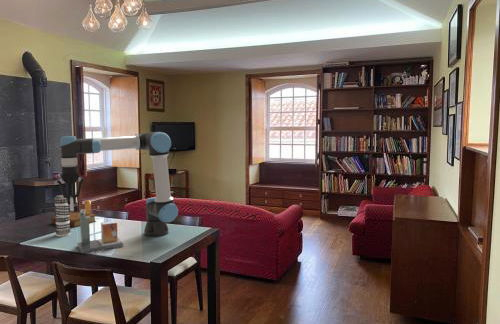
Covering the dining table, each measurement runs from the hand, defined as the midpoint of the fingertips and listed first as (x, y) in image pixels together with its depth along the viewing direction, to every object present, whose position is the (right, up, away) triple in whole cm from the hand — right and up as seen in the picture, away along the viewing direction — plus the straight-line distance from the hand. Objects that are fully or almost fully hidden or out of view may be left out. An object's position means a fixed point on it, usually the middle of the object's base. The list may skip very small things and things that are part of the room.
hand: (71, 210), depth 205 cm
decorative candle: (-25, -21, +43) cm, 54 cm away
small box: (+13, -20, +19) cm, 30 cm away
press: (+8, -23, +18) cm, 30 cm away
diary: (-32, -18, +73) cm, 82 cm away
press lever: (+3, -4, +11) cm, 12 cm away
